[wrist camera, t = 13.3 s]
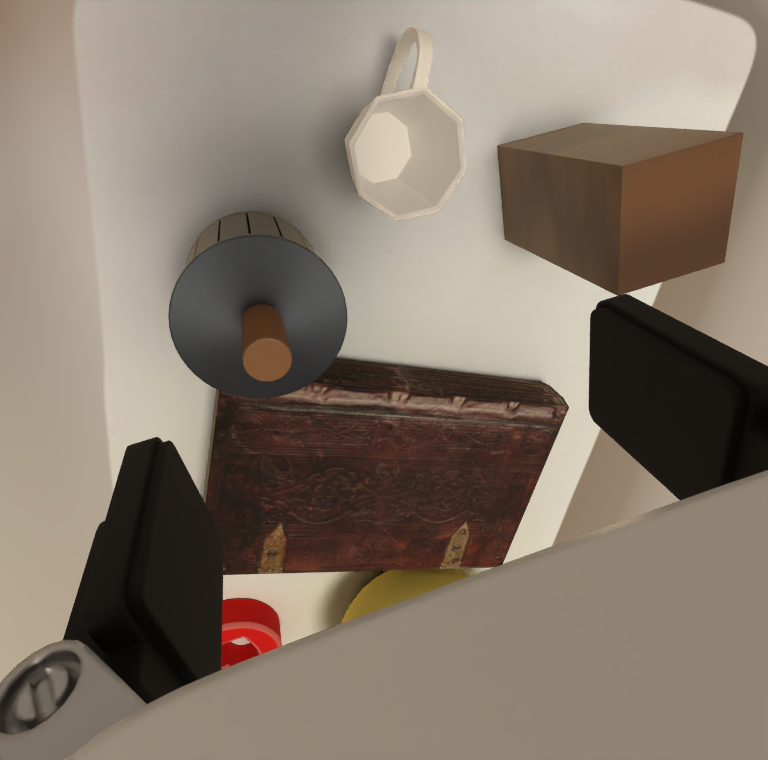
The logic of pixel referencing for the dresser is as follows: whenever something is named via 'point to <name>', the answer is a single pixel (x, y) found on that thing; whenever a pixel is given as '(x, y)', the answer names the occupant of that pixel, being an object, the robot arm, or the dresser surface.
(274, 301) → the lid
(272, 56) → the dresser surface
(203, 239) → the dark grey slatted bucket
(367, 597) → the vase
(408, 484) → the book
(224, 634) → the decorative ornament
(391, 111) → the cup
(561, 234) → the stand
